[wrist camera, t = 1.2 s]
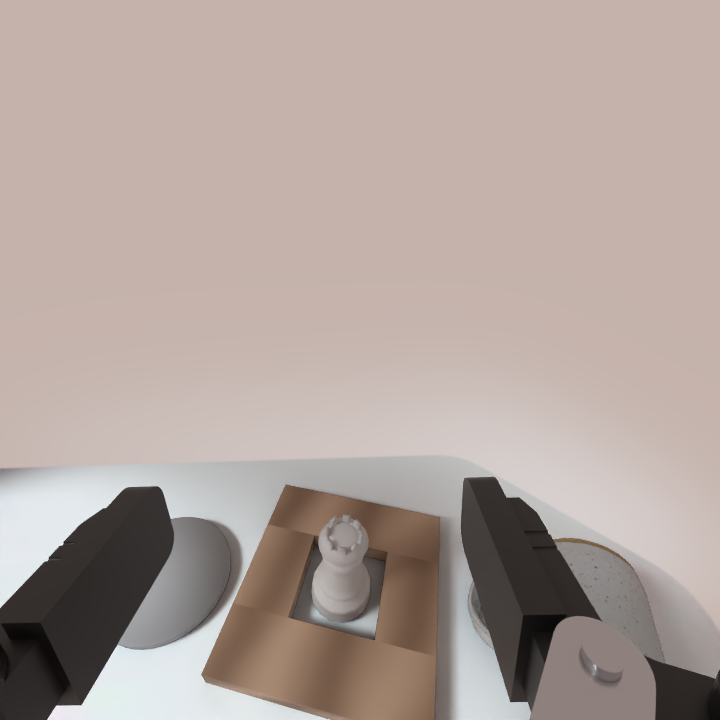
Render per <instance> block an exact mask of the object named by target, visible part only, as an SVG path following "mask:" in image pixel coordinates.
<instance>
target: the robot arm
mask: <svg viewBox="0 0 720 720" xmlns="http://www.w3.org/2000/svg"><path fill="white" fill-rule="evenodd" d="M461 535H462V542H463V547H464V551H465V555H466V558H467V561H468V564H469V568H470V571H471V574H472V578H473V581H474V584H475V587H476V591H477V594H478V597H479V601H480V604H481V607H482V610H483V614H484V617H485V620H486V624H487V627H488V630H489V633H490V637H491V640H492V643H493V647H494V650H495V653H496V656H497V660H498V663H499V666H500V669H501V673H502V676H503V679H504V683H505V686H506V689H507V692H508V696H509V699H510V702H528V704H529V707H530V710H531V716H530V720H720V670H719V672H718V674H717V677H716V679H715V678H711V677H708V676H705V675H701V674H698V673H695V672H691V671H688V670H685V669H681V668H678V667H675V666H671V665H668V664H665V663H662V662H659V661H656V660H653V659H651V658H649V657H647V656H645V655H643V654H642V653H641V652H640V650H639V649H638V648H637V647H636V646H635V645H634V644H633V643H632V641H631V640H629V639H628V638H627V637H626V636H625V635H624V634H622V633H621V632H619V631H618V630H617V629H615V628H614V627H612V626H610V625H608V624H606V623H604V622H603V621H602V620H601V618H600V617H599V615H598V614H597V612H596V611H595V609H594V607H593V606H592V604H591V602H590V601H589V599H588V597H587V596H586V594H585V592H584V591H583V589H582V587H581V586H580V584H579V582H578V581H577V579H576V577H575V576H574V574H573V572H572V571H571V569H570V567H569V566H568V564H567V562H566V561H565V559H564V557H563V555H562V554H561V552H560V550H558V549H557V545H556V544H555V542H554V540H553V539H552V537H551V535H550V534H548V530H547V529H546V527H545V525H544V524H543V522H542V520H541V519H540V517H539V515H538V514H537V512H536V511H534V510H533V509H532V508H531V507H530V506H529V505H527V504H526V503H525V502H524V501H523V500H522V499H520V498H519V497H518V498H506V496H505V494H504V492H503V490H502V488H501V486H500V484H499V482H498V481H497V479H496V478H495V477H478V478H465V479H464V483H463V497H462V514H461ZM173 544H174V530H173V526H172V523H171V519H170V516H169V512H168V509H167V505H166V502H165V498H164V494H163V492H162V490H161V489H160V488H159V487H157V486H154V487H128V488H126V489H124V490H123V491H122V492H121V493H120V494H119V495H118V496H117V497H116V498H115V499H114V500H113V501H112V503H111V504H110V505H109V506H108V507H107V508H103V509H102V510H100V511H99V512H97V513H96V514H95V515H93V516H92V517H90V518H89V519H87V520H86V521H84V522H83V523H82V524H80V525H79V526H78V527H77V529H76V530H75V531H74V532H73V533H72V534H71V535H70V536H69V537H68V538H67V539H66V540H65V541H64V544H63V546H59V547H58V548H57V549H56V550H55V552H54V553H53V554H52V555H51V556H50V557H49V560H48V561H47V562H44V563H43V564H42V565H41V566H40V567H39V568H38V569H37V570H36V571H35V572H34V574H33V575H32V576H31V577H30V578H29V579H28V580H27V581H26V582H25V583H24V584H23V585H22V586H21V587H20V588H19V589H18V590H17V591H16V592H15V593H14V594H13V595H12V597H11V598H10V599H9V600H8V601H7V602H6V603H5V604H4V605H3V606H2V607H1V608H0V720H47V719H48V717H49V716H50V714H51V713H52V711H53V709H54V708H55V706H56V705H82V703H83V702H84V700H85V698H86V697H87V695H88V693H89V691H90V690H91V688H92V686H93V685H94V683H95V681H96V680H97V678H98V676H99V675H100V673H101V671H102V670H103V668H104V666H105V664H106V663H107V661H108V659H109V658H110V656H111V654H112V653H113V651H114V649H115V648H116V646H117V644H118V643H119V641H120V639H121V637H122V636H123V634H124V632H125V631H126V629H127V627H128V626H129V624H130V622H131V621H132V619H133V617H134V616H135V614H136V612H137V611H138V609H139V607H140V605H141V604H142V602H143V600H144V599H145V597H146V595H147V594H148V592H149V590H150V589H151V587H152V585H153V584H154V582H155V580H156V578H157V577H158V575H159V573H160V572H161V570H162V568H163V567H164V565H165V563H166V562H167V560H168V558H169V556H170V554H171V552H172V548H173Z"/></svg>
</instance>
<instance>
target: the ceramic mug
mask: <svg viewBox="0 0 720 720" xmlns="http://www.w3.org/2000/svg"><path fill="white" fill-rule="evenodd" d="M554 542H555V544H556V545H557V549H558V550H560V552H561V554H562V555H563V557H564V559H565V561H566V562H567V564H568V566H569V567H570V569H571V571H572V572H573V574H574V576H575V577H576V579H577V581H578V582H579V584H580V586H581V587H582V589H583V591H584V592H585V594H586V596H587V597H588V599H589V601H590V602H591V604H592V606H593V607H594V609H595V611H596V612H597V614H598V615H599V617H600V618H601V620H602V621H603V622H604V623H606V624H608V625H610V626H612V627H614V628H615V629H617V630H618V631H619V632H621V633H622V634H624V635H625V636H626V637H627V638H628V639H629V640H631V641H632V643H633V644H634V645H635V646H636V647H637V648H638V649H639V650H640V652H641V653H642V654H643V655H645V656H647V657H649V658H651V659H653V660H656V661H659V662H662V663H665V660H664V656H663V652H662V648H661V645H660V641H659V638H658V635H657V631H656V628H655V625H654V621H653V617H652V613H651V609H650V605H649V602H648V599H647V596H646V593H645V590H644V588H643V586H642V584H641V582H640V580H639V578H638V576H637V574H636V572H635V571H634V569H633V568H632V567H631V565H630V564H629V563H628V562H627V561H626V560H625V559H624V558H622V557H621V556H620V555H619V554H617V553H615V552H614V551H612V550H610V549H609V548H606V547H604V546H602V545H599V544H596V543H593V542H590V541H586V540H581V539H573V538H561V539H555V540H554ZM480 608H481V604H480V601H479V597H478V594H477V591H476V587H475V584H474V581H473V582H472V585H471V588H470V591H469V595H468V610H469V614H470V616H471V619H472V622H473V625H474V628H475V629H476V631H477V633H478V634H479V636H480V637H481V638H482V640H483V641H484V642H485V643H486V644H487V645H488V646H489V647H491V648H492V649H493V650H494V647H493V643H492V640H491V637H490V633H489V630H488V629H487V628H486V627H485V625H484V624H483V622H482V621H481V620H480V617H479V612H480ZM665 664H666V663H665Z"/></svg>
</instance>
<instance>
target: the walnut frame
mask: <svg viewBox="0 0 720 720" xmlns="http://www.w3.org/2000/svg"><path fill="white" fill-rule="evenodd" d="M343 514H346V515H350V518H351V519H353V520H356V519H358V521H359V522H360V523H361V524H362V526H363V527H364V529H365V530H366V532H367V535H368V538H369V542H368V549H367V551H366V553H365V555H364V556H367V557H371V558H375V559H380V560H384V561H386V565H385V572H384V579H383V586H382V592H381V599H380V606H379V613H378V620H377V627H376V634H375V640H371V639H367V638H363V637H360V636H356V635H352V634H348V633H344V632H341V631H337V630H333V629H329V628H325V627H322V626H318V625H314V624H310V623H307V622H303V621H299V620H295V619H292V616H293V612H294V609H295V606H296V603H297V600H298V596H299V593H300V590H301V587H302V584H303V581H304V577H305V574H306V571H307V568H308V565H309V562H310V558H311V555H312V552H313V549H314V546H315V545H319V544H318V540H319V535H320V532H321V531H322V529H323V528H324V526H325V525H326V524H327V523H329V520H330V519H332V518H333V517H335V516H336V518H337V519H338V518H342V517H343ZM439 536H440V517H436V516H431V515H426V514H422V513H417V512H412V511H408V510H403V509H398V508H393V507H389V506H384V505H379V504H375V503H370V502H365V501H360V500H356V499H351V498H346V497H342V496H337V495H332V494H327V493H323V492H318V491H313V490H309V489H304V488H299V487H294V486H290V485H285V487H284V490H283V492H282V494H281V496H280V499H279V501H278V503H277V505H276V508H275V510H274V512H273V514H272V517H271V519H270V521H269V523H268V526H267V528H266V530H265V532H264V535H263V537H262V539H261V541H260V544H259V546H258V548H257V550H256V553H255V555H254V557H253V559H252V562H251V564H250V566H249V568H248V571H247V573H246V575H245V577H244V580H243V582H242V584H241V586H240V589H239V591H238V593H237V596H236V598H235V600H234V602H233V605H232V607H231V609H230V611H229V614H228V616H227V618H226V620H225V623H224V625H223V627H222V629H221V632H220V634H219V636H218V638H217V641H216V643H215V645H214V647H213V650H212V652H211V654H210V656H209V659H208V661H207V663H206V665H205V668H204V670H203V672H202V674H201V675H202V677H203V678H204V680H205V682H207V683H210V684H213V685H217V686H220V687H223V688H227V689H230V690H233V691H237V692H240V693H243V694H247V695H250V696H253V697H257V698H260V699H263V700H267V701H270V702H274V703H277V704H280V705H284V706H287V707H290V708H294V709H297V710H300V711H304V712H307V713H310V714H314V715H317V716H320V717H324V718H327V719H330V720H434V719H435V683H436V646H437V609H438V573H439Z"/></svg>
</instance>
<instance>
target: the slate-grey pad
mask: <svg viewBox="0 0 720 720" xmlns="http://www.w3.org/2000/svg"><path fill="white" fill-rule="evenodd" d="M171 523H172V526H173V530H174V544H173V548H172V552H171V554H170V556H169V558H168V560H167V562H166V563H165V565H164V567H163V568H162V570H161V572H160V573H159V575H158V577H157V578H156V580H155V582H154V584H153V585H152V587H151V589H150V590H149V592H148V594H147V595H146V597H145V599H144V600H143V602H142V604H141V605H140V607H139V609H138V611H137V612H136V614H135V616H134V617H133V619H132V621H131V622H130V624H129V626H128V627H127V629H126V631H125V632H124V634H123V636H122V637H121V639H120V641H119V643H118V645H121V646H123V647H126V648H130V649H141V650H144V649H152V648H157V647H160V646H164V645H166V644H169V643H171V642H173V641H175V640H177V639H179V638H181V637H183V636H184V635H186V634H187V633H189V632H190V631H192V630H193V629H194V628H195V627H196V626H198V625H199V624H200V623H201V622H202V621H203V620H204V619H205V618H206V617H207V616H208V615H209V613H210V612H211V611H212V610H213V609H214V607H215V606H216V604H217V603H218V601H219V599H220V598H221V596H222V594H223V592H224V590H225V587H226V585H227V582H228V578H229V574H230V568H231V559H230V552H229V548H228V545H227V541H226V539H225V537H224V535H223V534H222V532H221V531H220V530H219V529H218V528H217V527H216V526H215V525H213V524H212V523H210V522H208V521H206V520H203V519H199V518H193V517H182V518H175V519H171Z"/></svg>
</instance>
